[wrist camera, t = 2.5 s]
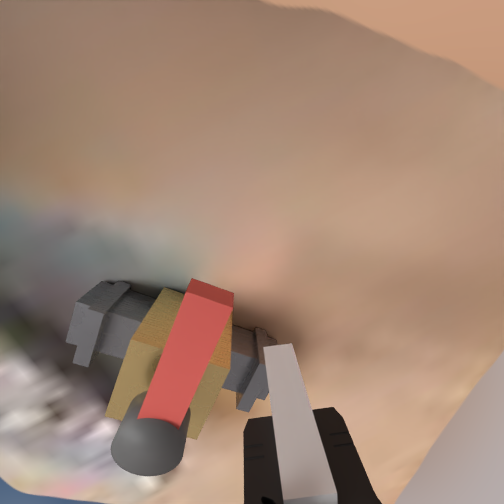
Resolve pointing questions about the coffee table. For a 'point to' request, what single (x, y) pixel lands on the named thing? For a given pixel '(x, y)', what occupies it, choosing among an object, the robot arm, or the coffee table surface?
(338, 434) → the robot arm
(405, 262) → the coffee table surface
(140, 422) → the lever
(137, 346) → the valve
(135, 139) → the coffee table surface
